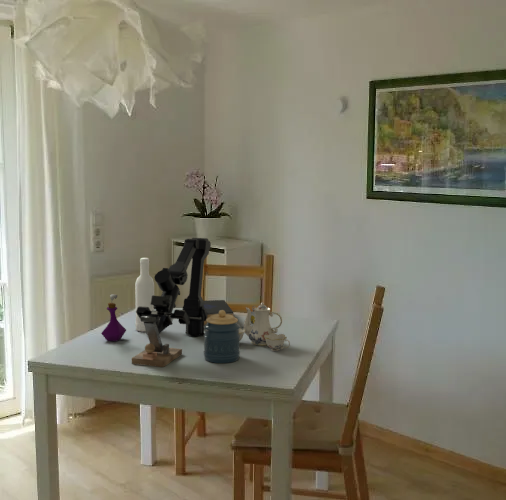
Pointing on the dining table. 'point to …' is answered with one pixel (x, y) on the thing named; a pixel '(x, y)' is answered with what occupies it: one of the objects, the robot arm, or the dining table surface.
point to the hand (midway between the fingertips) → (155, 335)
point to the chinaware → (263, 329)
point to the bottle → (143, 291)
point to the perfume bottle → (113, 324)
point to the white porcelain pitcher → (251, 318)
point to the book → (216, 307)
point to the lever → (152, 332)
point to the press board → (159, 358)
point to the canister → (221, 338)
